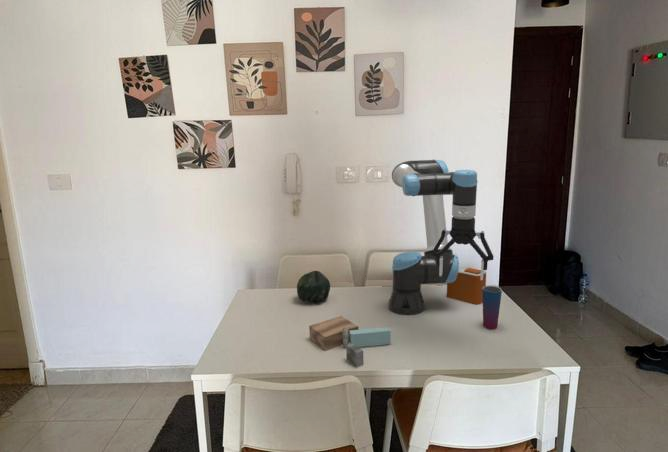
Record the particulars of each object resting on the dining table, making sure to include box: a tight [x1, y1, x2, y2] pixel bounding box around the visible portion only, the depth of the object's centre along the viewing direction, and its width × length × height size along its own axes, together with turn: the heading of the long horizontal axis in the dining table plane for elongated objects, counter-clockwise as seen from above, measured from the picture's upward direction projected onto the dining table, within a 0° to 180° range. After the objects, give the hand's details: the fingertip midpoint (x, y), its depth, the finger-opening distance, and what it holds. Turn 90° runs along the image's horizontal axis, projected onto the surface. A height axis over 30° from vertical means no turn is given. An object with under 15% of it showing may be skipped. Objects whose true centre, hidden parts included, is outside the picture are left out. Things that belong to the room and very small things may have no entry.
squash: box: [296, 270, 331, 304], centre depth 192 cm, size 14×15×15 cm
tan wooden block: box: [308, 315, 364, 368], centre depth 150 cm, size 26×14×7 cm, turn 33°
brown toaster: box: [446, 267, 487, 305], centre depth 189 cm, size 15×8×14 cm, turn 47°
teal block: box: [349, 326, 391, 348], centre depth 151 cm, size 14×3×5 cm, turn 98°
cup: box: [482, 285, 503, 330], centre depth 161 cm, size 7×7×15 cm
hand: (460, 276), depth 149 cm, fingers open, 13 cm apart
